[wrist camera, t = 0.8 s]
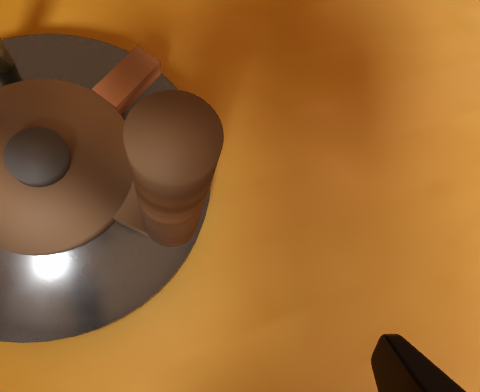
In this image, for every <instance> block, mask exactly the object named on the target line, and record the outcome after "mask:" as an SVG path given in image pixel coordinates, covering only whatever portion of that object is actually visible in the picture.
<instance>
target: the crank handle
mask: <svg viewBox="0 0 480 392" xmlns="http://www.w3.org/2000/svg"><path fill="white" fill-rule="evenodd" d="M160 75H161V62H160V61H159V60H157V59H156V58H155V57H153V56H152V55H151V54H149V53H148V52H147V51H145V50H144V49H142V48H141V47H140V46H138V45H137V46H136V47H135V48H134V49H133V50H132V51H131V52H130V53H129V54H128V55H127V56H126V57H125V58H124V59H123V60H122V61H121V62H119V63H118V64H117V65H116V66H115V67H114V68H113V69H112V70H111V71H110V72H109V73H108V74H107V75H106V76H105V77H104V78H103V79H102V80H101V81H100V82H99V83H98V84H97V85H95V86H94V87H93V88H92V91H91V90H89V89H87V88H85V87H82V86H80V85H77V84H73V83H70V82H66V81H60V80H51V79H35V80H26V81H20V82H16V83H12V84H9V85H5V86H3V87H0V249H3V250H6V251H8V252H13V253H17V254H22V255H33V256H38V255H52V254H59V253H63V252H66V251H70V250H73V249H76V248H78V247H81V246H83V245H85V244H87V243H89V242H91V241H92V240H94V239H96V238H97V237H99V236H100V235H101V234H103V233H104V232H105V231H106V230H108V229H109V228H110V227H111V226H112V225H113V224H114V223H115V222H118V223H120V224H122V225H125V226H127V227H129V228H131V229H133V230H135V231H138V232H140V233H142V234H144V235H146V236H148V237H150V238H151V239H152V240H153V241H154V242H156V243H158V244H160V245H162V246H167V247H174V246H179V245H181V244H184V243H185V242H187V241H188V240H189V239H190V238H191V237H192V236H193V234H194V232H195V230H196V228H197V225H198V221H199V218H200V215H201V212H202V209H203V206H204V203H205V200H206V197H207V193H208V190H209V187H210V184H211V181H212V178H213V175H214V172H215V169H216V165H217V162H218V159H219V156H220V153H221V150H222V146H223V139H224V136H223V128H222V124H221V121H220V119H219V117H218V115H217V114H216V112H215V111H214V109H213V108H212V107H211V106H210V105H209V104H208V103H207V102H206V101H204V100H203V99H201V98H200V97H198V96H196V95H194V94H191V93H188V92H185V91H179V90H164V91H158V92H155V93H152V94H150V95H148V96H146V97H144V98H143V99H141V100H140V101H139V102H137V103H136V104H135V105H134V106H133V108H132V109H131V110H130V112H129V113H128V115H127V117H126V120H125V121H124V119H123V118H122V116H121V114H122V113H123V112H124V111H125V110H126V109H127V108H128V107H129V106H130V105H131V104H132V103H133V102H134V101H135V100H136V99H137V98H138V97H139V96H140V95H141V94H142V93H143V92H144V91H145V90H146V89H147V88H148V87H149V86H150V85H151V84H152V83H153V82H154V81H155V80H156V79H157V78H158V77H159V76H160Z"/></svg>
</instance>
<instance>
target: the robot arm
mask: <svg viewBox="0 0 480 392" xmlns="http://www.w3.org/2000/svg"><path fill="white" fill-rule="evenodd" d="M371 365H372V369H373V373H374V377H375V381H376V385H377V388H378V392H466V391H465V390H463V389H462V388H461V387H460V386H459V385H458V384H457V383H455V382H454V381H453V380H452V379H451V378H450V377H448V376H447V375H446V374H445V373H444V372H443V371H441V370H440V369H439V368H438V367H437V366H436V365H434V364H433V363H432V362H431V361H430V360H429V359H428V358H426V357H425V356H424V355H423V354H422V353H421V352H419V351H418V350H417V349H416V348H415V347H414V346H412V345H411V344H410V343H409V342H408V341H407V340H405V339H404V338H403V337H402V336H400V335H398V334H383V335H382V336H380V338H379V340H378V343H377V345H376V347H375V349H374V352H373V354H372V358H371Z"/></svg>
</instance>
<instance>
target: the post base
mask: <svg viewBox="0 0 480 392" xmlns="http://www.w3.org/2000/svg"><path fill="white" fill-rule="evenodd" d="M129 53H130V52H128V51H126V50H123V49H121V48H118V47H116V46H113V45H111V44H108V43H104V42H101V41H97V40H94V39H90V38H84V37H78V36H72V35H59V34H39V35H26V36H19V37H12V38H7V39H3V40H1V38H0V87H3V86H5V85H9V84H12V83H16V82H20V81H26V80H35V79H51V80H60V81H66V82H70V83H73V84H77V85H80V86H82V87H85V88H87V89H89V90H91V91H92V88H93V87H94V86H95V85H97V84H98V83H99V82H100V81H101V80H102V79H103V78H104V77H105V76H106V75H107V74H108V73H109V72H110V71H111V70H112V69H113V68H114V67H115V66H116V65H117V64H118V63H119V62H121V61H122V60H123V59H124V58H125V57H126V56H127V55H128V54H129ZM164 90H178V89H177V88H176V87H175V86H174V85H173V83H172V82H171V81H169V80H168V79H167V78H166V77H165V76H164V75H163V74H162V73H161V75H160V76H159V77H158V78H157V79H156V80H155V81H154V82H153V83H152V84H151V85H150V86H149V87H148V88H147V89H146V90H145V91H144V92H143V93H142V94H141V95H140V96H139V97H138V98H137V99H136V100H135V101H134V102H133V103H132V104H131V105H130V106H129V107H128V108H127V109H126V110H125V111H124V112H123V113H122V114H121V116H122V118H123V119H124V121H125V120H126V117H127V115H128V113H129V112H130V110H131V109H132V108H133V106H134V105H135V104H136V103H137V102H139V101H140V100H141V99H143V98H144V97H146V96H148V95H150V94H152V93H155V92H158V91H164ZM210 185H211V184H210ZM209 195H210V187H209V190H208V193H207V197H206V200H205V203H204V206H203V209H202V212H201V215H200V218H199V221H198V225H197V228H196V230H195V232H194V234H193V236H192V237H191V238H190V239H189V240H188V241H187V242H185V243H184V244H181V245H179V246H174V247H167V246H162V245H160V244H158V243H156V242H154V241H153V240H152V239H151V238H150V237H148V236H146V235H144V234H142V233H140V232H138V231H135V230H133V229H131V228H129V227H127V226H125V225H122V224H120V223H118V222H115V223H114V224H113V225H112V226H111V227H110V228H109V229H108V230H106V231H105V232H104V233H103V234H101V235H100V236H99V237H97V238H96V239H94V240H92V241H91V242H89V243H87V244H85V245H83V246H81V247H78V248H76V249H73V250H70V251H66V252H63V253H59V254H52V255H38V256H33V255H22V254H17V253H13V252H8V251H6V250H3V249H0V341H3V342H18V343H28V342H44V341H52V340H58V339H63V338H68V337H73V336H78V335H82V334H85V333H88V332H91V331H94V330H97V329H100V328H103V327H105V326H107V325H110V324H112V323H114V322H116V321H118V320H120V319H122V318H124V317H126V316H127V315H129V314H130V313H132V312H134V311H135V310H137V309H138V308H140V307H142V306H143V305H144V304H145V303H147V302H148V301H149V300H150V299H151V298H153V297H154V296H155V295H156V294H158V293H159V292H160V291H161V290H162V289H163V288H164V287H165V285H166V284H167V283H168V282H169V281H170V280H171V279H172V278H173V277H174V276H175V274H176V273H177V272H178V270H179V269H180V268H181V266H182V265H183V263H184V262H185V261H186V259H187V257H188V255H189V253H190V252H191V250H192V248H193V246H194V244H195V242H196V240H197V237H198V235H199V232H200V229H201V227H202V224H203V222H204V219H205V215H206V210H207V206H208V202H209Z"/></svg>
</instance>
